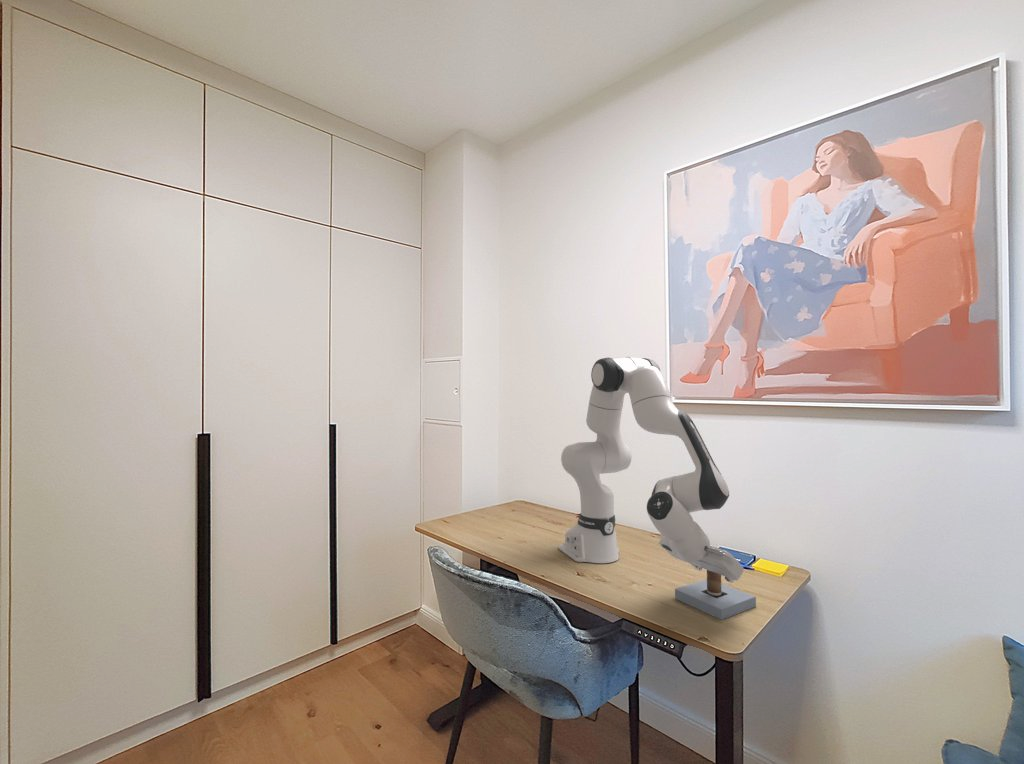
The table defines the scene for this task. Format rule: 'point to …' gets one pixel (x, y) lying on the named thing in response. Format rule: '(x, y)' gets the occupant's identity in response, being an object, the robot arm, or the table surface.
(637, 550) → the table surface
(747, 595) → the socket board
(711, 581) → the peg
